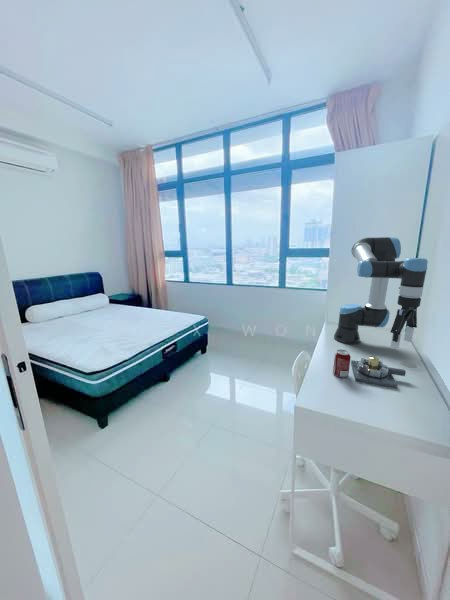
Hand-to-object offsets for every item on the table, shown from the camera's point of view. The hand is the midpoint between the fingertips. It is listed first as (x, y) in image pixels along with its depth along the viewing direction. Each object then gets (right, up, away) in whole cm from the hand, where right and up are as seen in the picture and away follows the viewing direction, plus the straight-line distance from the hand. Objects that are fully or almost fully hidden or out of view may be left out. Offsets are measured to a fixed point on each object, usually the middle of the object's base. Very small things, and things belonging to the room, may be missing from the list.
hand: (401, 344), depth 105 cm
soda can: (-20, -17, +13) cm, 30 cm away
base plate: (-5, -17, +13) cm, 22 cm away
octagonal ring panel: (-2, -15, +11) cm, 18 cm away
